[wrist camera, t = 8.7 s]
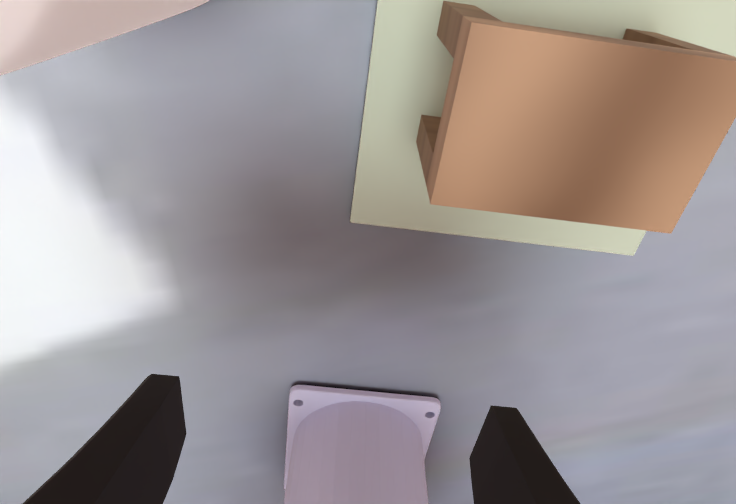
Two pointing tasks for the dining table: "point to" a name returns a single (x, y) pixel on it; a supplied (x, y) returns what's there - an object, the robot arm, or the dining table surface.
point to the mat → (428, 91)
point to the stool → (574, 122)
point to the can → (72, 25)
